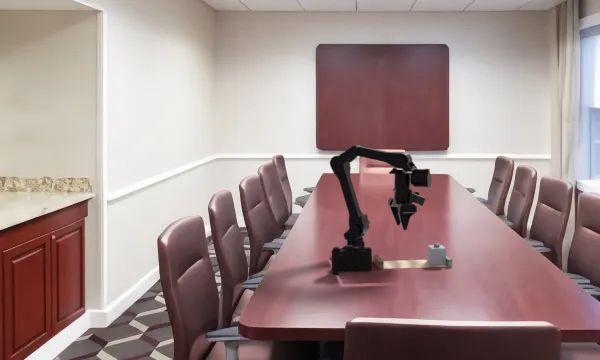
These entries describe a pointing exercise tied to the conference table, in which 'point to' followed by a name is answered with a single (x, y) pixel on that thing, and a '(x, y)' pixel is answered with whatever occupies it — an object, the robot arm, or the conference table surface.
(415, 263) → the track
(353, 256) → the camera
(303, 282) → the conference table surface
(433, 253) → the block
